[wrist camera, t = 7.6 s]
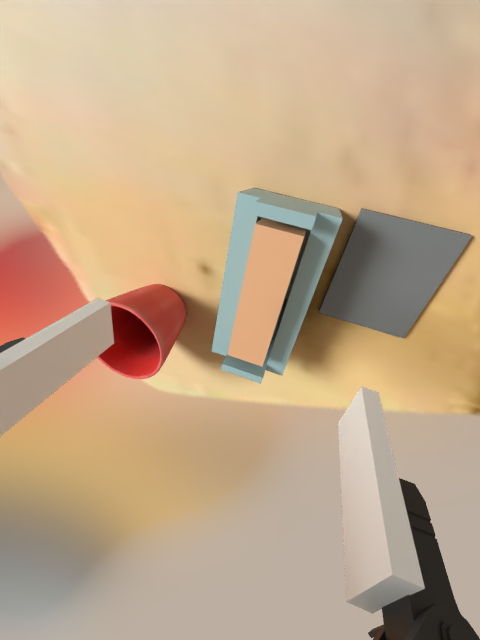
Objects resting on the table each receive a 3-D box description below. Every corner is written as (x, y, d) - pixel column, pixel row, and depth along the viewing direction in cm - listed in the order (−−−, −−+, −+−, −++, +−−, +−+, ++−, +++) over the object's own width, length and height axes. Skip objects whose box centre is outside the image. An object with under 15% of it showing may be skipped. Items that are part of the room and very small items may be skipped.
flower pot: (210, 305, 36) (177, 345, 28) (177, 350, 42) (142, 392, 34) (148, 257, 35) (95, 284, 27) (123, 310, 41) (73, 344, 33)
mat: (361, 208, 26) (362, 209, 25) (469, 234, 24) (472, 235, 24) (319, 310, 32) (319, 312, 32) (402, 335, 31) (403, 338, 30)
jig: (254, 187, 27) (229, 194, 20) (339, 208, 26) (344, 223, 19) (227, 325, 37) (203, 363, 30) (288, 345, 36) (279, 389, 29)
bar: (265, 216, 24) (255, 223, 21) (307, 227, 24) (304, 236, 20) (237, 335, 32) (227, 354, 28) (269, 345, 31) (262, 366, 28)
